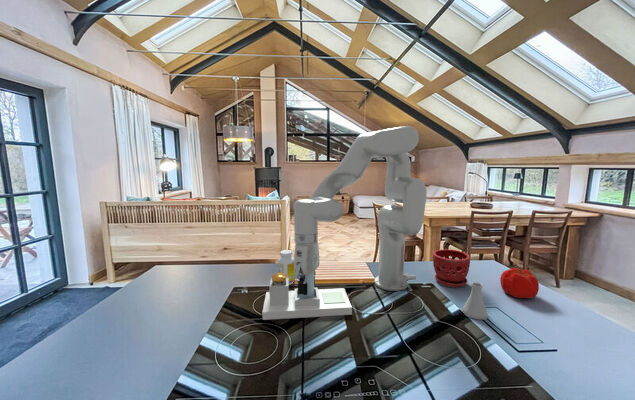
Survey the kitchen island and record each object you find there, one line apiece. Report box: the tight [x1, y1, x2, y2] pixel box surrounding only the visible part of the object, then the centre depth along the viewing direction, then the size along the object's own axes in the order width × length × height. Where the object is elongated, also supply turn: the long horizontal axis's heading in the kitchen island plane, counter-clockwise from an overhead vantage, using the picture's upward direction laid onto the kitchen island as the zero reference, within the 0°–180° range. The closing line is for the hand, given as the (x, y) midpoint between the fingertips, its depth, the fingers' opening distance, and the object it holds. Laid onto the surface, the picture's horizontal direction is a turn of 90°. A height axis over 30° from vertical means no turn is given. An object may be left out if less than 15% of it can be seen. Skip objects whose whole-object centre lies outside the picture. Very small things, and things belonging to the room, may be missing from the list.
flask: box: [461, 281, 488, 320], centre depth 84 cm, size 7×7×10 cm
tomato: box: [499, 267, 540, 299], centre depth 97 cm, size 11×12×9 cm
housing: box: [261, 278, 353, 321], centre depth 89 cm, size 28×13×9 cm, turn 95°
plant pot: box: [432, 248, 471, 288], centre depth 106 cm, size 13×13×12 cm
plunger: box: [271, 272, 287, 285], centre depth 88 cm, size 5×5×8 cm
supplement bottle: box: [277, 249, 296, 286], centre depth 107 cm, size 7×7×13 cm
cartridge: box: [299, 271, 315, 299], centre depth 89 cm, size 5×5×13 cm
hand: (306, 289), depth 89 cm, fingers closed on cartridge, 5 cm apart
